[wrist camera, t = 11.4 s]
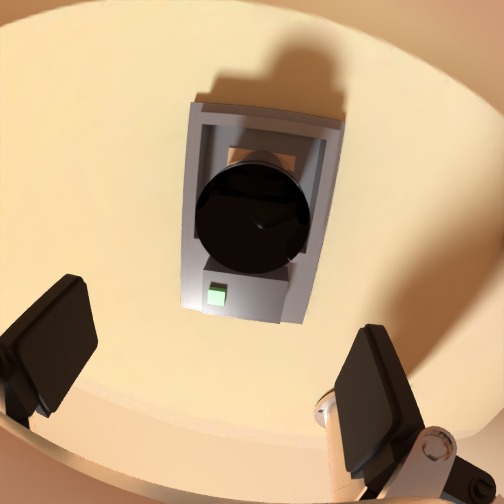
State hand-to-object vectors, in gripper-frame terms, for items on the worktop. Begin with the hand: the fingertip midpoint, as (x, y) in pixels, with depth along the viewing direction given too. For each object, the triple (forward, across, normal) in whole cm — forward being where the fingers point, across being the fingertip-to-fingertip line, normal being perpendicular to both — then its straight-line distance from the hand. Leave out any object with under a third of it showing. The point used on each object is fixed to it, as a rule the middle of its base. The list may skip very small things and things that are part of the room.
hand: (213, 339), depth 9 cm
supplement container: (+20, 0, -1) cm, 20 cm away
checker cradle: (+20, 0, +3) cm, 21 cm away
